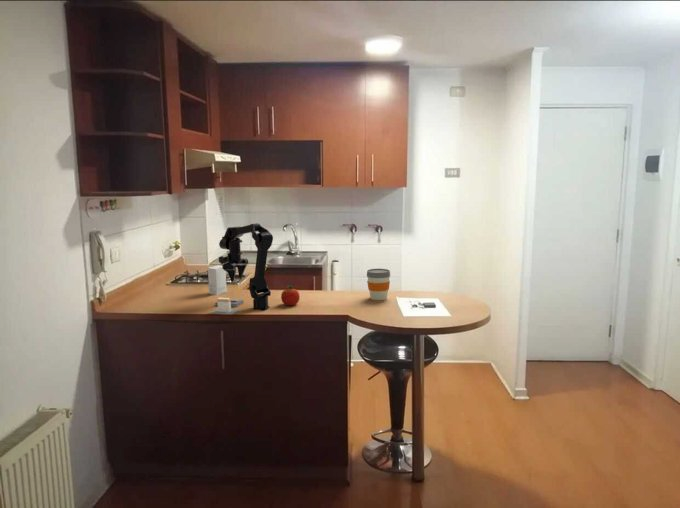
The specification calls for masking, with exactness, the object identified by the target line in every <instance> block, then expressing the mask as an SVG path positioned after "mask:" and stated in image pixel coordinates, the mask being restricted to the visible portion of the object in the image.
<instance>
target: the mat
mask: <svg viewBox="0 0 680 508" xmlns="http://www.w3.org/2000/svg"><path fill="white" fill-rule="evenodd" d="M239 311H240V309H237V308H236V309H233V308H231V311H230V312H219V311H218V308H216V309H214V310H213V311H211V312H209V314H215V315H216V314H217V315H218V314H219V315H230V316H231V315H234V314H236V313H238V312H239Z"/></svg>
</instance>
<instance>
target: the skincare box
mask: <svg viewBox="0 0 680 508" xmlns="http://www.w3.org/2000/svg"><path fill="white" fill-rule="evenodd" d="M207 275H208V278H207V279H208V292H209V295H216V296H217V295H222V294H226V293H228V291H227V289H228V288H227V277H226V275H227V273H226V271H224V269H222V265H220V264H218V265H214V266H210V267H207Z"/></svg>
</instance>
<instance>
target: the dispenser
mask: <svg viewBox="0 0 680 508" xmlns="http://www.w3.org/2000/svg"><path fill="white" fill-rule="evenodd" d="M244 301H245V300H244V299H231V308H238V307H240V306H241V305H243V304H244ZM215 307H218V302H215Z"/></svg>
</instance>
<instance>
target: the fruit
mask: <svg viewBox="0 0 680 508" xmlns="http://www.w3.org/2000/svg"><path fill="white" fill-rule="evenodd" d="M286 287H287V288H288V289H286V288H285V289H284V290H283V291H282V293H281V297H280V299H281V301H282V303H283V304H284V305H285V306H289V307H290V306H291V307H292V306H296V305H297V304H298V303H299V301H300V293H299V291H298V289H295V288H293V285H287V286H286Z"/></svg>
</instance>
